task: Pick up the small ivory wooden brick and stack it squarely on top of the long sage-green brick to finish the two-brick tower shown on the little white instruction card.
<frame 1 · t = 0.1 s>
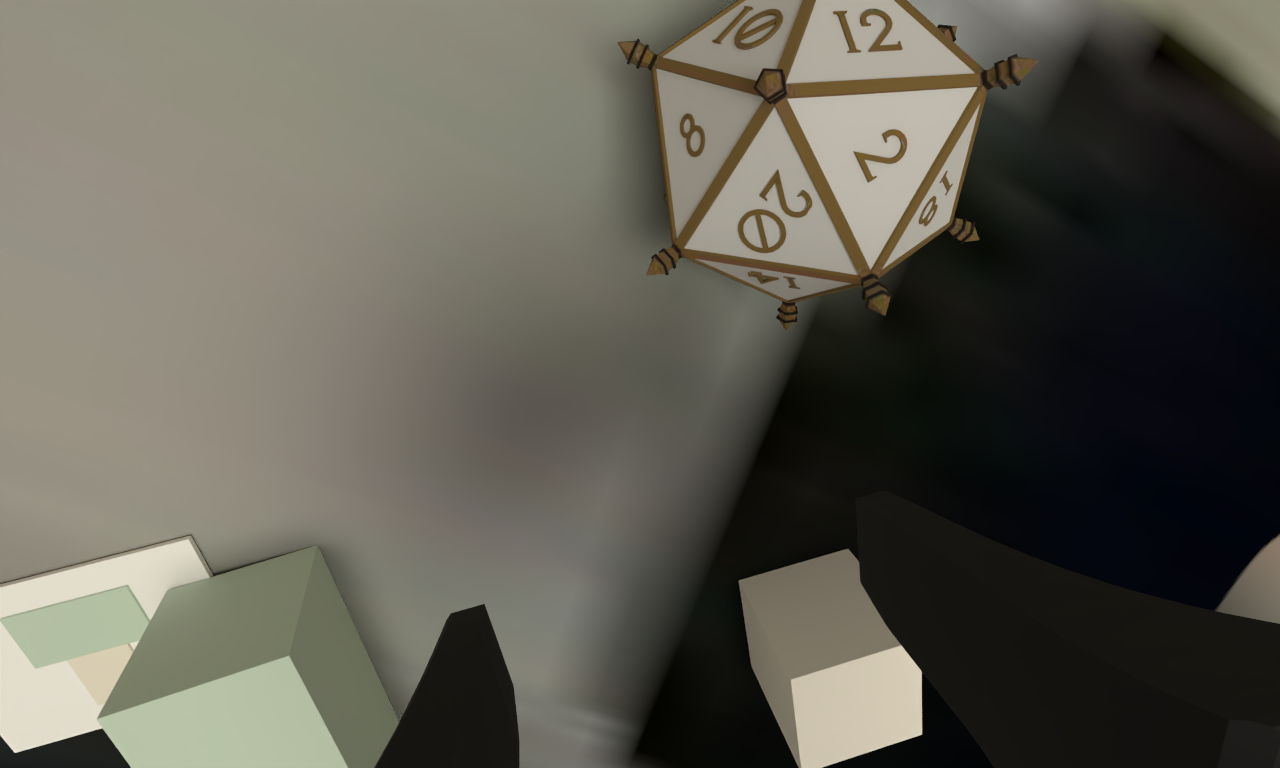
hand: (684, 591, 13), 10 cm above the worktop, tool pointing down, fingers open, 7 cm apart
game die: (746, 137, 20), on the worktop
ivory brick: (797, 607, 27), on the worktop
sage brick: (297, 670, 23), on the worktop, touching instruction card
instruction card: (101, 645, 22), on the worktop
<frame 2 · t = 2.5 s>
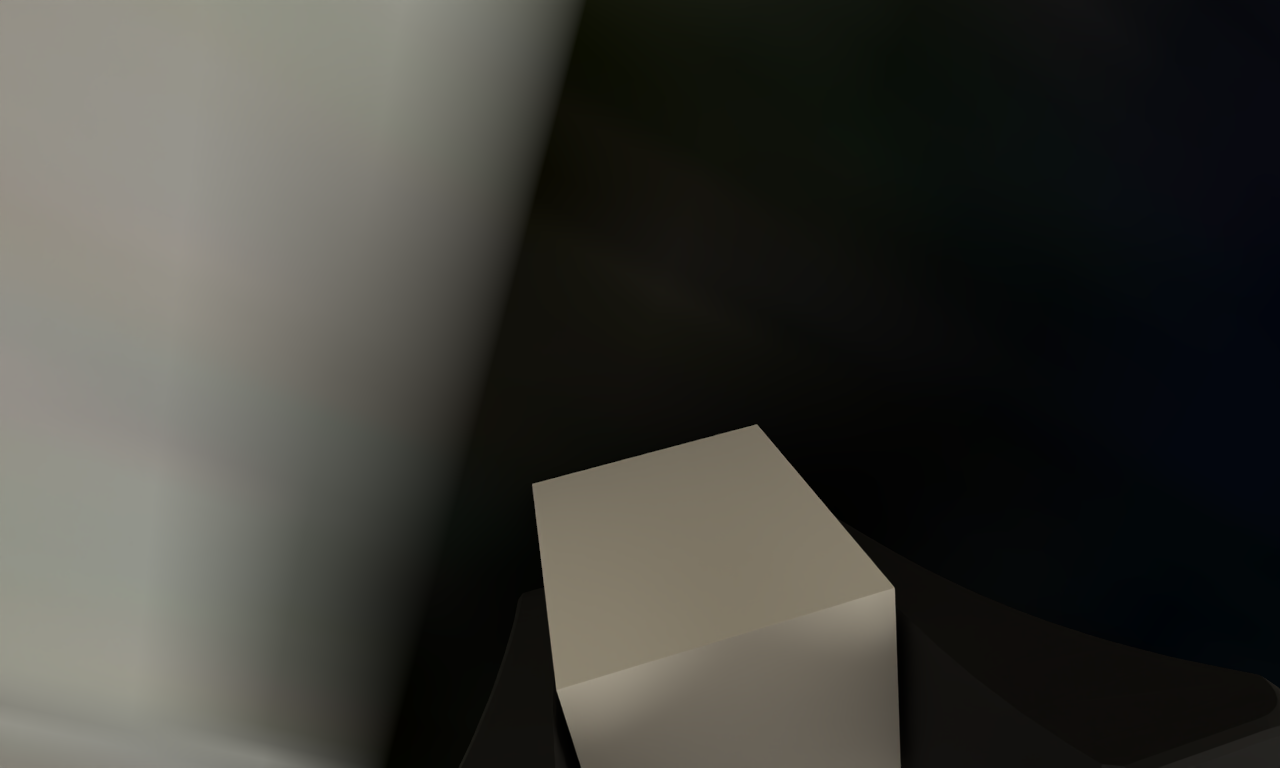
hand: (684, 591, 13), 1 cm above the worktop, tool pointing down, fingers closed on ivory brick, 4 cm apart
ivory brick: (665, 546, 14), on the worktop, touching gripper
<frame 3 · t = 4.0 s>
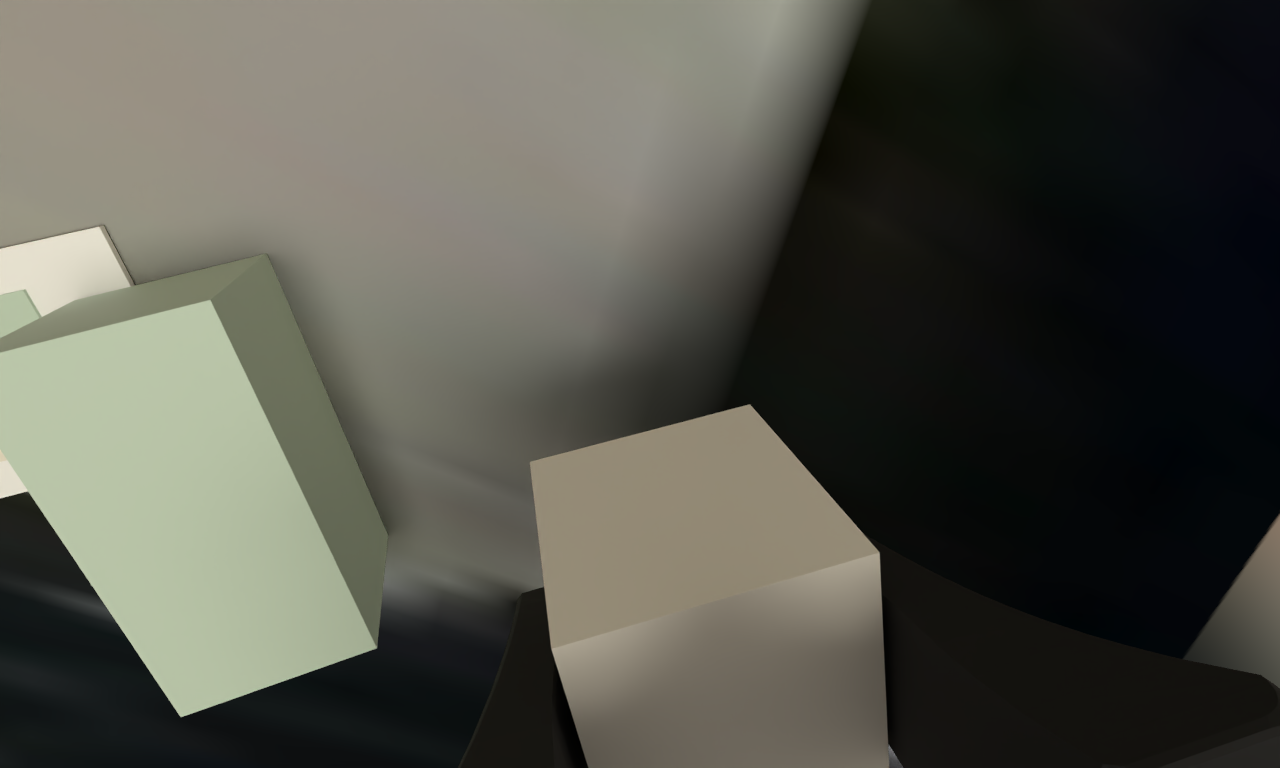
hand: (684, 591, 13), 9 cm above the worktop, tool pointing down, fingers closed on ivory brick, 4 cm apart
ivory brick: (660, 525, 14), point 7 cm above the worktop, touching gripper
sage brick: (250, 431, 19), on the worktop, touching instruction card
when the fingers open (7 cm above the worktop, at t = 5.7 s): ivory brick stays where it is, resting on sage brick.
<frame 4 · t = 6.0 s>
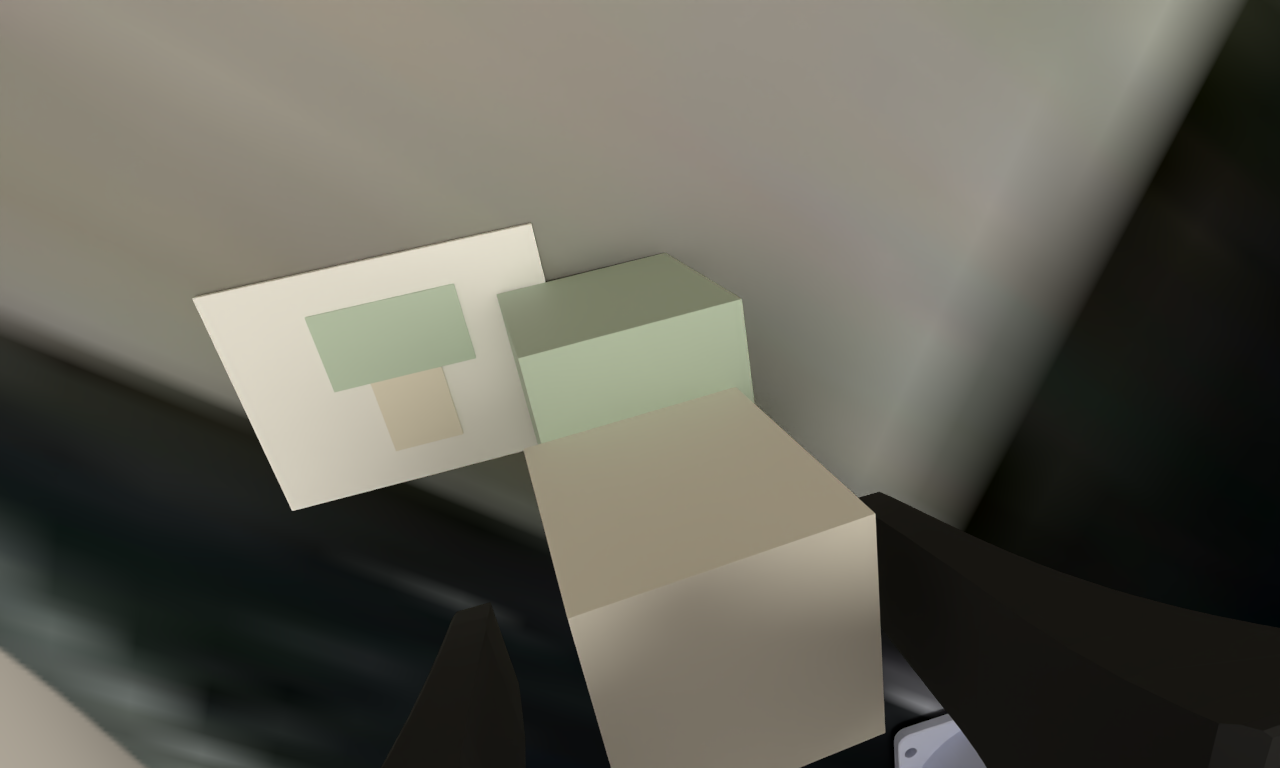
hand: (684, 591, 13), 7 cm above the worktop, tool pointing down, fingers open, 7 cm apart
ivory brick: (651, 508, 15), point 5 cm above the worktop, touching sage brick
sage brick: (616, 425, 19), on the worktop, touching instruction card, ivory brick
instruction card: (407, 370, 18), on the worktop
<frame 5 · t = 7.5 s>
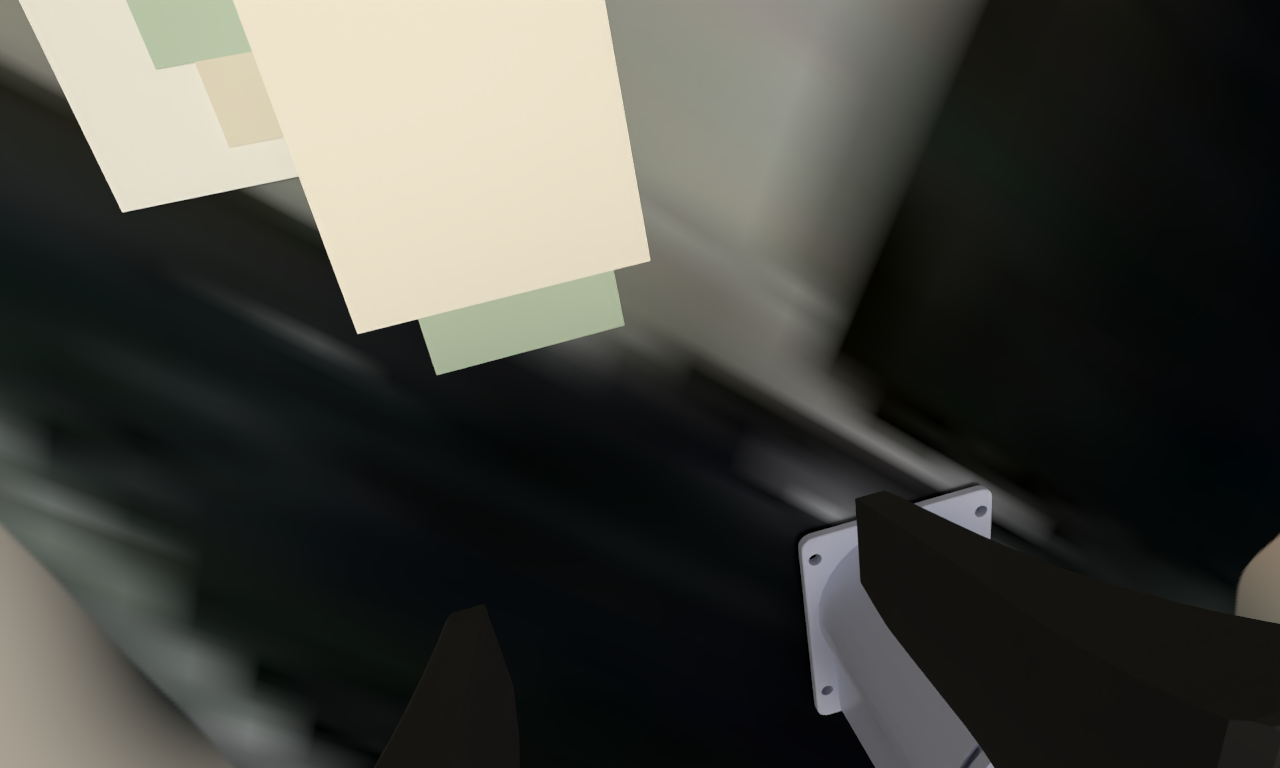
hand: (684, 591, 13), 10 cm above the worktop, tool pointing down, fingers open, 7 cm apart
ivory brick: (457, 132, 14), point 5 cm above the worktop, touching sage brick
sage brick: (469, 141, 19), on the worktop, touching instruction card, ivory brick
instruction card: (236, 55, 17), on the worktop
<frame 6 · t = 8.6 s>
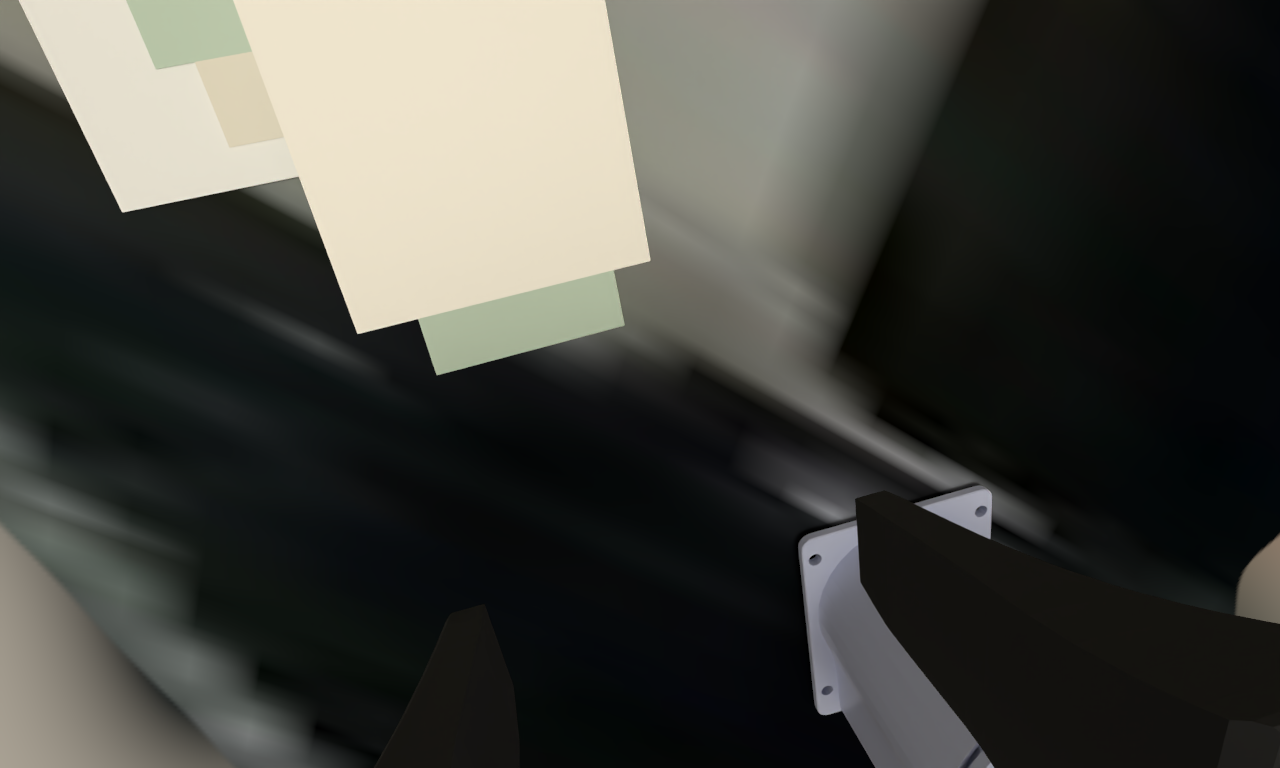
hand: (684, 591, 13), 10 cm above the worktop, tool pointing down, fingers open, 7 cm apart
ivory brick: (457, 132, 14), point 5 cm above the worktop, touching sage brick
sage brick: (469, 141, 19), on the worktop, touching instruction card, ivory brick
instruction card: (237, 55, 17), on the worktop
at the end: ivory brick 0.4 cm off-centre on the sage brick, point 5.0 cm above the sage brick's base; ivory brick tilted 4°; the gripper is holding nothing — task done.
